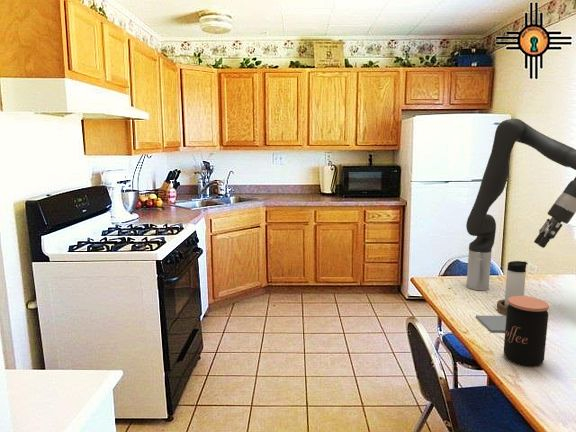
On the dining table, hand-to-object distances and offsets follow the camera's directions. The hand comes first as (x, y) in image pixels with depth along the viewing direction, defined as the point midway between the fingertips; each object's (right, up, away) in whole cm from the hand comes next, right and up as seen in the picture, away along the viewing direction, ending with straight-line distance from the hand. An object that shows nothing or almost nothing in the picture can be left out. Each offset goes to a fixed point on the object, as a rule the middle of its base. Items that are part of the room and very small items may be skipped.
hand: (538, 245), depth 162 cm
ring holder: (-8, -26, +3) cm, 27 cm away
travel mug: (-8, -26, +3) cm, 28 cm away
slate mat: (-18, -28, -8) cm, 34 cm away
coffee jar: (-24, -32, -33) cm, 52 cm away
